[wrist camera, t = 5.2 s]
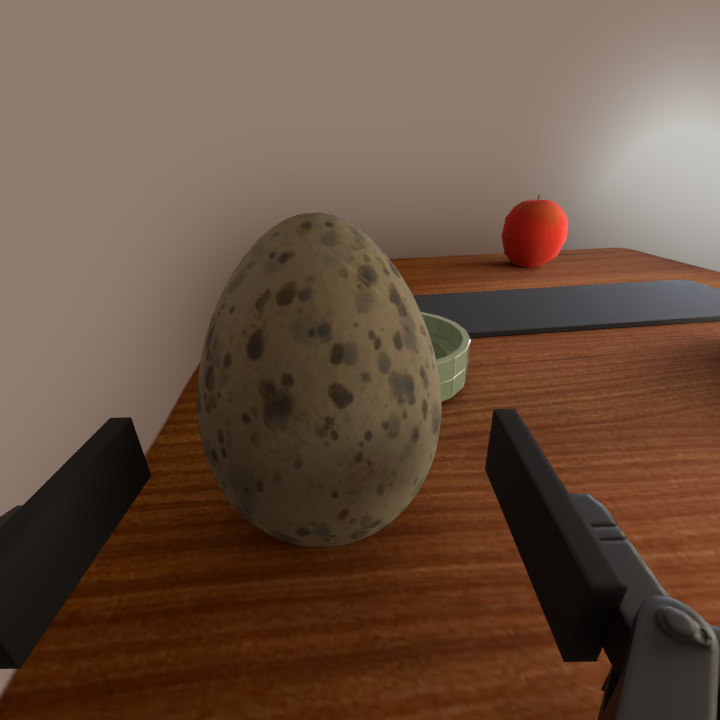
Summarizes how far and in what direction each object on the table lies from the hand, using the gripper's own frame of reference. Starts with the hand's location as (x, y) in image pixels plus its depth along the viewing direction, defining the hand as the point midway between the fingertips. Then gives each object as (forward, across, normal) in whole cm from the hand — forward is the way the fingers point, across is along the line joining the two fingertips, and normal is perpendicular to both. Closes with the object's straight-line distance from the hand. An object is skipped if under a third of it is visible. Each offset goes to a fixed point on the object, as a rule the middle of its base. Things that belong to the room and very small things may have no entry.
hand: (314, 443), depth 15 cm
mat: (+35, +25, -7) cm, 43 cm away
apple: (+58, +31, -8) cm, 67 cm away
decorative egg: (+4, 0, -8) cm, 8 cm away
